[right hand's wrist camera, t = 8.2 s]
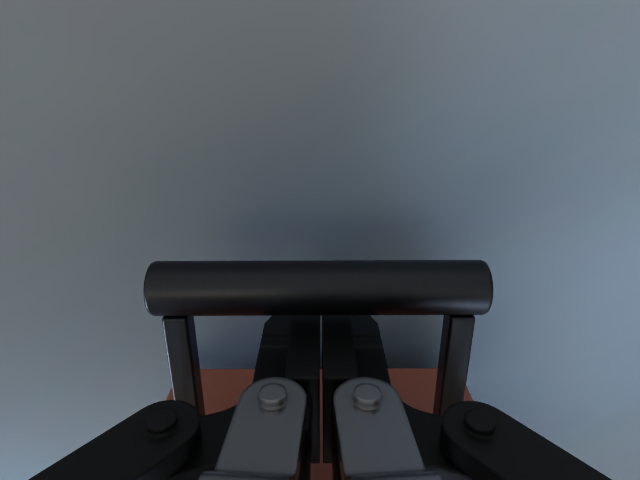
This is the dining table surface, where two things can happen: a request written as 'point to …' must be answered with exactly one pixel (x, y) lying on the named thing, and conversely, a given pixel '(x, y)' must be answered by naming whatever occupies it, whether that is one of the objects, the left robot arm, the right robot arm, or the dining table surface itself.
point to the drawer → (318, 299)
